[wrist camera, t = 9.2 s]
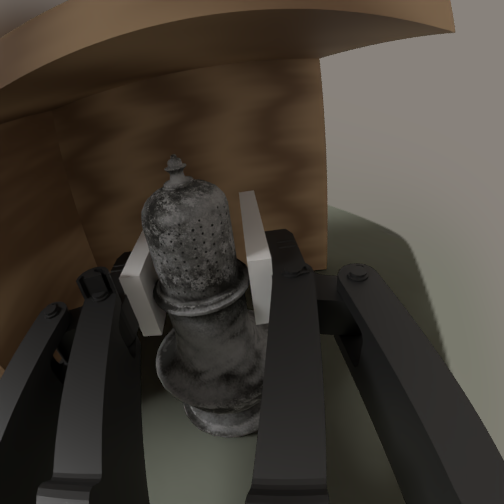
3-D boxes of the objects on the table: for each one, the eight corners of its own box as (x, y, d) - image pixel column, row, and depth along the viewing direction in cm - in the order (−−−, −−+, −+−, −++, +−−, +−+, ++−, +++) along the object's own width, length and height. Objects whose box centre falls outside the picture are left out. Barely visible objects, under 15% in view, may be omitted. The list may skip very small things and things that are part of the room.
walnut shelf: (41, 426, 13) (-112, 144, 4) (100, 287, 26) (43, 96, 17) (389, 407, 13) (447, -15, 4) (321, 258, 26) (310, 40, 17)
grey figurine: (312, 390, 14) (314, 139, 8) (224, 465, 11) (108, 209, 5) (238, 337, 18) (201, 132, 12) (158, 390, 15) (66, 177, 9)
